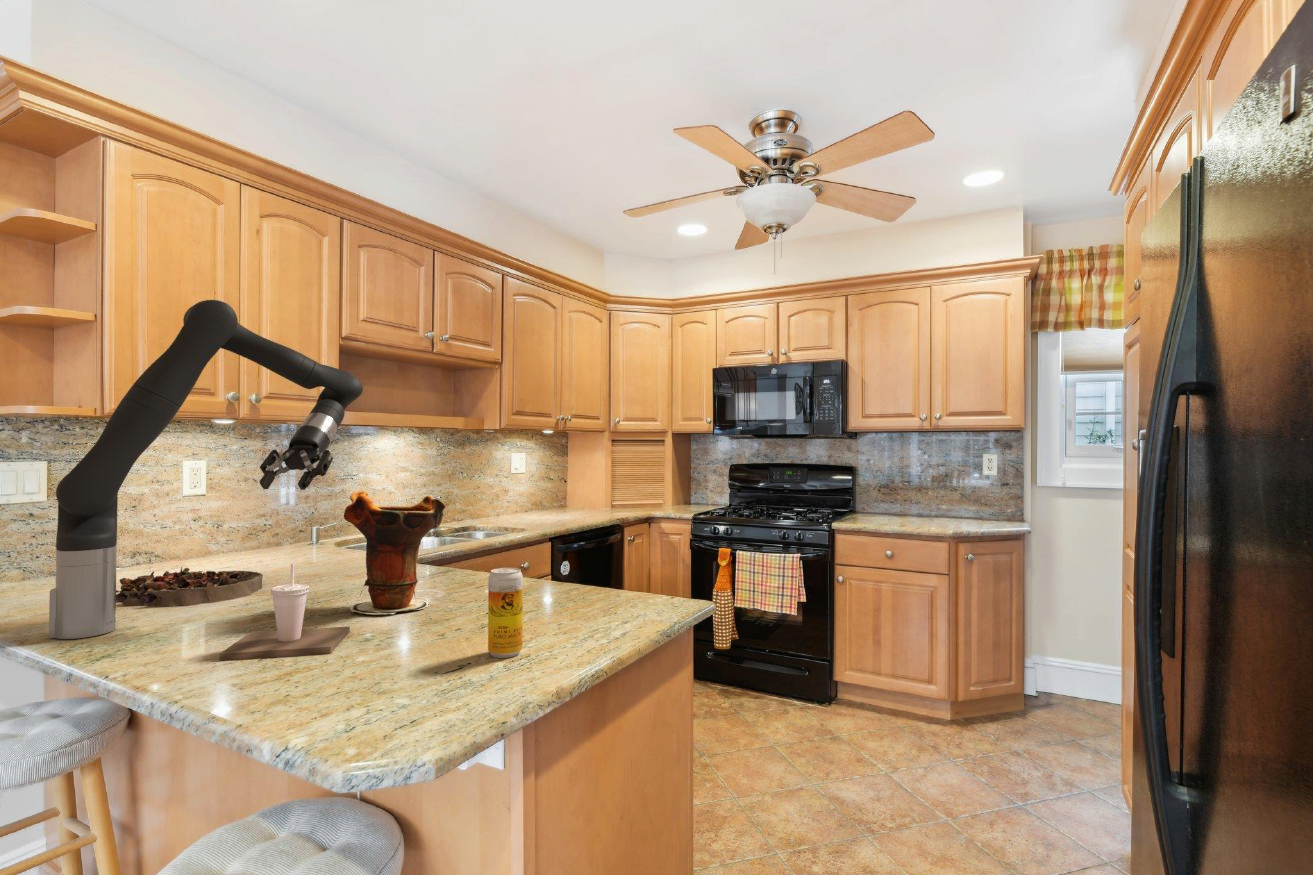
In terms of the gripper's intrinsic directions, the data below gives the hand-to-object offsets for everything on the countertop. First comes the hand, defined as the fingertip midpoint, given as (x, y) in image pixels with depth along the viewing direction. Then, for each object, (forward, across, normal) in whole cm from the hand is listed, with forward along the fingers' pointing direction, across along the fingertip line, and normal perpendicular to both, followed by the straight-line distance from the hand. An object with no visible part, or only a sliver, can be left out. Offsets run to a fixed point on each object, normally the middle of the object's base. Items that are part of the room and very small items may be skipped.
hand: (282, 487), depth 142 cm
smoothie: (+32, +13, +8) cm, 35 cm away
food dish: (+3, -41, +39) cm, 57 cm away
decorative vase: (+11, +19, +30) cm, 37 cm away
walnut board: (+33, +13, +8) cm, 36 cm away
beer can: (+34, +56, +7) cm, 66 cm away
